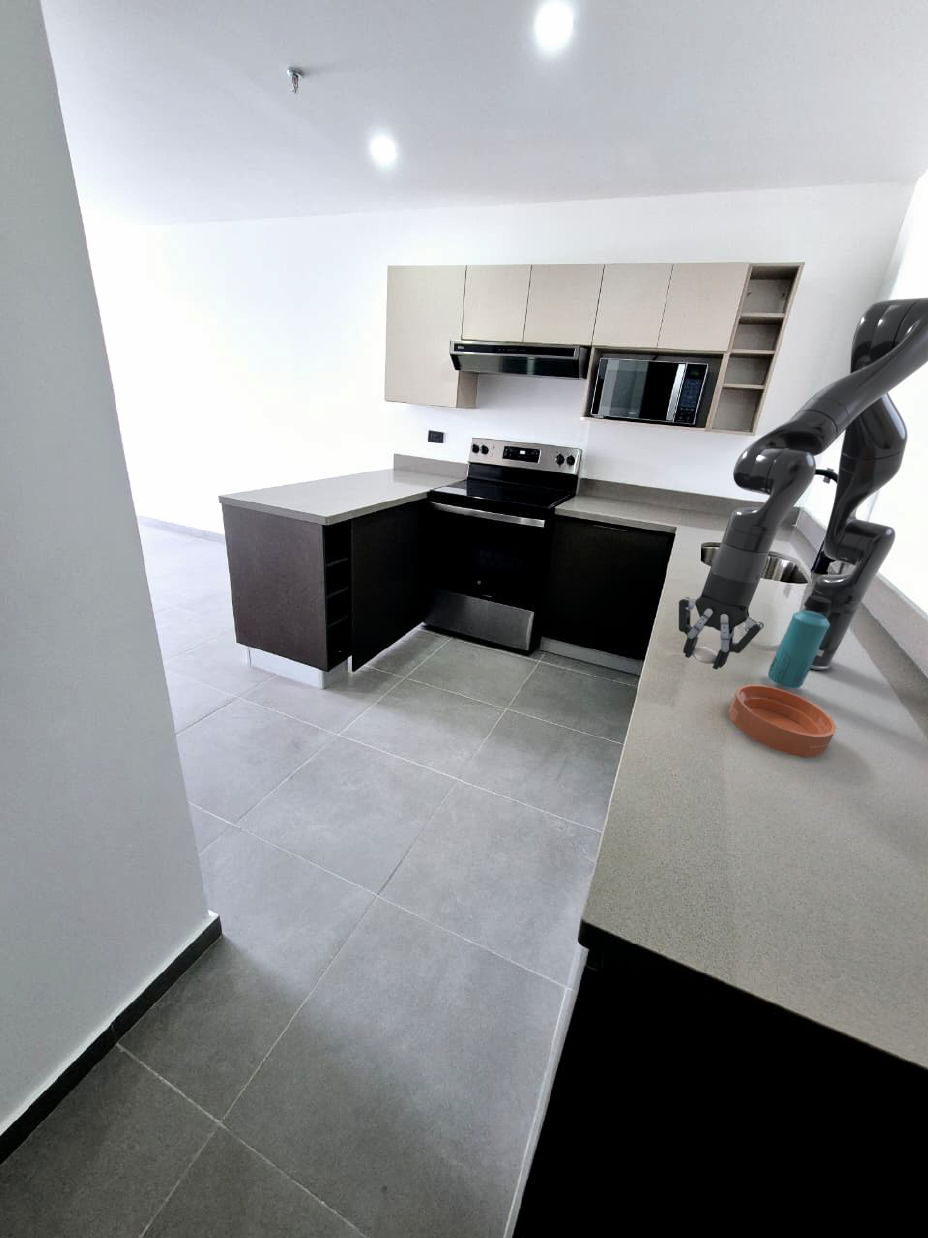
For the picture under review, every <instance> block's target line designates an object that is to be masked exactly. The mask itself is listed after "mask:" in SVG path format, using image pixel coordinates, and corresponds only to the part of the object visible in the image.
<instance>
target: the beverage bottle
mask: <svg viewBox="0 0 928 1238" xmlns="http://www.w3.org/2000/svg"><path fill="white" fill-rule="evenodd" d="M831 604H832V602H831V601H830V600H828V599H826V598H823V597H819V596H813V595H811V596H809V595H808V596H807V599H806V600H805V601H804V604H803V607H804V606H805V607H807V608H809V609H812V610H815V611H819V612H829V610H830V606H831ZM829 626H830V623H829V621H828V620H827V618H826V617H825V616H823V615H821V614H819V613H816V612H812V611H807V610H803V609H802V610H799V611H796V612H794V613H793V614H792V616H791V619H790V622H789V624H788V626H787V628H786V631H785V633H784V635H783V636H782V639H781V641H780V643H779V645H778V647H777V650H776V652H775V655H774V656H773V658H772V662H771V663H770V665H769V669H768V671H767V676H768V678H769V680H771V681H772V682H774V683H776V684H778V685H780V686H782V687H784V688H785V687H786V688H790V689H799V688H801V687H802V686H803V685H804V683H805V681H806V679H807V677H808V674H809V673H810V671H811V670H812V669H811V668H810V667H811V664H812V662H813V660H814V659H815V658H816V657H815V656H816V654H817V651H818V649H819V647H820V644H821V642H822V640H823V638H824V636H825V633H826V631H827V629H828V627H829Z"/></svg>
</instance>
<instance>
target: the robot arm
mask: <svg viewBox="0 0 928 1238" xmlns="http://www.w3.org/2000/svg"><path fill="white" fill-rule="evenodd" d="M865 309H866V310H865V311H864V312H863V313H862V315H861V316H860V318H859V320H858V322H857V325H856V326H855V327H856V328H855V330H854V334H853V338H852V343H851V348H850V349H851V350H850V366H849V374H847V375H845V376H843V377H840V378H838V379H836V380H835V381H833V382H831V383H829V384H827V385H826V386H825V387H822V388H821V389H820V390H818V391H817V392H816V393H815V394H814V395H813V396H811V397H810V398H809V399H808V400H807V401H806V402H805V403H804V404H803V405H802V406H801V407H800V408H799V409H798V411H796V412H795V414H793V416H792V417H791V418H790V419H789V420H787V421H786V422H784V423H782V424H780V425H779V426H777V427H775V428H773V429H772V430H771V431H769V432H768V433H766V434H764V435H762V436H761V437H760V438H757V440H755V441H753V442H752V443H751V444H750V445H749V446H748V447H746V448H745V449H744V450H743V452H742V453H741V454H740V455H739V457H738V458H737V460H736V462H735V464H734V467H733V472H732V475H733V481H734V483H735V485H736V486H737V487H739V488H740V489H741V490H745V491H747V492H748V491H749V492H753V493H757V494H761V495H766V496H769V497H768V498H767V500H766V501H764V502H763V504H762V505H760V506H759V507H752V506H751V507H748V506H747V507H738V508H736V509H735V510H733V512H732V513H731V514H730V516H729V520H728V522H727V524H726V527H725V531H724V534H723V537H722V540H721V542H720V545H719V546H718V548H717V550H716V552H715V554H714V557H713V559H712V561H711V563H710V568H709V570H708V571H709V572H708V575H707V577H706V580H705V582H704V585H703V588H702V591H701V594H700V595H699V597H697V598H690V597H688V596H685V597H683V598H681V599H680V600H679V601H678V631H679V632H681V633H684V634H685V635H686V640H685V643H684V646H683V649H682V651H683V654H684V657H685V658H687V659H690V658H691V657H693V653H692V652H693V650H694V649H695V648H696V646H697V644H698V641H699V634H700V633H701V632H702V631H703V630H704V628H705V627H708V628H713V629H715V630H716V631H718V632H720V649H718V653H716V654H717V657H716V660H715V662H714V664H712V669H714V670H718V669H722V668H723V667H724V666H725V665H726V663H727V661H728V659H729V655H730V653H735V654H740V653H741V652H743V650H744V649H745V648H747V646H748V645H749V644H750V643H751V642H752V641H753V639H754V638H755V637H756V636H757V635H758V634H759V633H760V632H761V631H762V629H763V628H764V627H765V624H764V623H763V622H762V621H756V620H755V619H753V618H751V616H750V612H749V608H750V605H751V604H752V601H753V598H754V595H755V592H756V591H757V588H758V585H759V583H760V581H761V578H762V576H763V573H764V571H765V567H766V565H767V561H768V556H769V553H770V551H771V548H772V545H773V543H774V542H775V541H774V540H775V538H776V535H777V533H778V531H779V528H780V527H781V525H782V523H783V522H784V521H785V519H786V518H787V516H788V515H789V513H790V511H791V510H792V509H793V508H794V506H795V505H796V504H797V502H798V501H799V500H800V499H801V497H802V496H803V495H804V493H805V492H806V491H807V490H808V488H809V486H810V485H811V484H812V482H813V480H814V477H815V475H816V470H817V465H816V464H817V463H816V460H815V459H816V458H815V457H817V456H818V455H820V454H822V453H824V452H825V451H826V450H828V449H829V447H830V446H831V445H832V444H834V442H835V441H836V440H837V439H838V438H839V437H840V436H841V434H842V433H843V432H844V434H843V438H842V444H841V449H840V456H839V462H838V473H837V482H836V488H835V494H834V500H833V503H832V509H831V512H830V516H829V519H828V524H827V528H826V531H825V536H824V540H823V553H824V555H825V557H827V558H829V559H831V560H834V561H837V562H841V563H843V564H846V565H851V566H854V568H853V570H852V572H850V573H845V574H822V575H819V576H818V577H817V578H816V579H815V581H814V583H813V586H812V588H811V590H810V593H809V594H808V597H809V596H811V595H813V596H819V597H823V598H826V599H828V600H830V601H831V602H832V604H831V606H830V610H829V612H819V611H815V610H812V609H809V608H807V607H805V606H804V605H803V608H802V610H807V611H812V612H816V613H819V614H821V615H823V616H825V617H826V618H827V620H828V621H829V623H830V626H829V627H828V629H827V631H826V633H825V636H824V638H823V640H822V642H821V644H820V647H819V649H818V651H817V654H816V656H815V657H816V658H815V659H814V660H813V662H812V664H811V667H810V668H811V669H810V670H814V671H815V670H816V671H828V670H829V668H830V666H831V663H832V661H833V659H834V657H835V655H836V654H837V651H838V649H839V647H840V645H841V643H842V641H843V639H844V638H845V636H846V634H847V632H848V630H849V627H850V625H851V623H852V622H853V620H854V618H855V616H856V613H857V611H858V609H859V608H860V605H861V603H862V602H863V600H864V597H865V595H866V593H867V592H868V591H869V588H870V587H871V585H872V583H873V581H874V579H875V577H876V576H877V574H878V572H879V570H880V568H881V567H882V565H883V563H884V562H885V559H886V558H887V557H888V555H889V553H890V551H891V549H892V548H893V545H894V543H895V540H896V530H895V528H893V527H891V526H888V525H884V524H880V523H876V522H871V521H867V520H863V519H858V518H857V516H856V515H857V511H858V508H859V507H860V506H861V505H862V504H863V503H864V502H865V501H866V500H868V498H870V497H871V496H872V495H873V494H875V493H877V492H878V491H879V490H880V489H882V488H883V487H884V486H885V485H887V484H888V483H889V482H890V481H891V480H893V479H894V477H895V476H896V475H897V473H898V472H900V469H901V467H902V464H903V459H904V455H905V452H906V451H905V450H906V448H907V447H906V446H907V443H908V436H909V435H908V429H907V425H906V423H905V420H904V418H903V416H902V415H901V413H900V411H899V409H898V408H897V406H896V405H895V403H894V400H892V397H891V396H890V393H889V392H891V391H893V389H895V388H896V387H897V386H898V385H900V384H901V383H902V382H903V381H905V380H906V379H907V378H909V377H910V376H911V375H913V374H914V373H915V372H917V371H918V370H919V369H920V368H922V367H923V366H924V365H925V364H927V363H928V297H917V298H916V297H915V298H901V299H900V298H899V299H898V298H897V299H886V300H879V301H875V302H874V303H872V304H871V305H869V307H867V308H865ZM695 607H696V610H697V614H698V617H699V618H698V620H696V622H695V623H694V624H693V626H691V614H692V613H691V611H692V610H694V608H695ZM743 623H744V624H745V627H744V631H745V632H746V633H745V634H744V635H743V637H742V638H741V639H740V640H739V641H738V642H734V636H735V628H736V627H738V626H739V625H742V624H743Z"/></svg>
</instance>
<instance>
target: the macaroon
mask: <svg viewBox="0 0 928 1238" xmlns="http://www.w3.org/2000/svg"><path fill="white" fill-rule="evenodd" d="M692 653H693V654H692V657H693V658H694V659H695V660H696V661H698V662H699V663H702V664H705V665H709V664H710V665H714V662H715V660H716V657H717V654H718V653H717V652H716V651H715V650H713V649H711V648H709V647H706V646H698V647H695V649H694V650H693V652H692Z"/></svg>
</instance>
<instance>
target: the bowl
mask: <svg viewBox="0 0 928 1238" xmlns="http://www.w3.org/2000/svg"><path fill="white" fill-rule="evenodd" d="M728 717H729V718H730V720H731V722H732V724H733V725H735V726H736V728H738V729H739V730H740V731H741V732H742V733H743V734H745V735H746V736H748V737H750V738H751V739H752V740H754V741H755V742H758V743H760V744H762V745H763V746H766V747H768V748H770V749H772V750H775V751H778V752H781V753H784V754H787V755H792V756H797V757H802V758H803V757H804V758H806V757H807V758H808V757H818V756H820V755H822V754H824V753H825V751H826V750H827V748H828V747H829V744H830V743H831V741H832V738H833V737H834V736H835V733H836V730H837V726H836V723H835V721H834V719H833V718H832V717H831V716H830V715H829V714H828V713H827V712H826V711H825V710H823V709H822V708H820V707H819V706H818V705H816V704H815V703H813V702H811V701H809V700H807V699H806V698H804V697H802V696H799V695H797V694H794V693H793V692H790V691H788V690H784V689H781V688H777V687H774V686H770V685H763V684H744V685H741V686H739V687H738V688H737V689H736V690H735V693H734V695H733V697H732V700H731V702H730V705H729V706H728Z"/></svg>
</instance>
